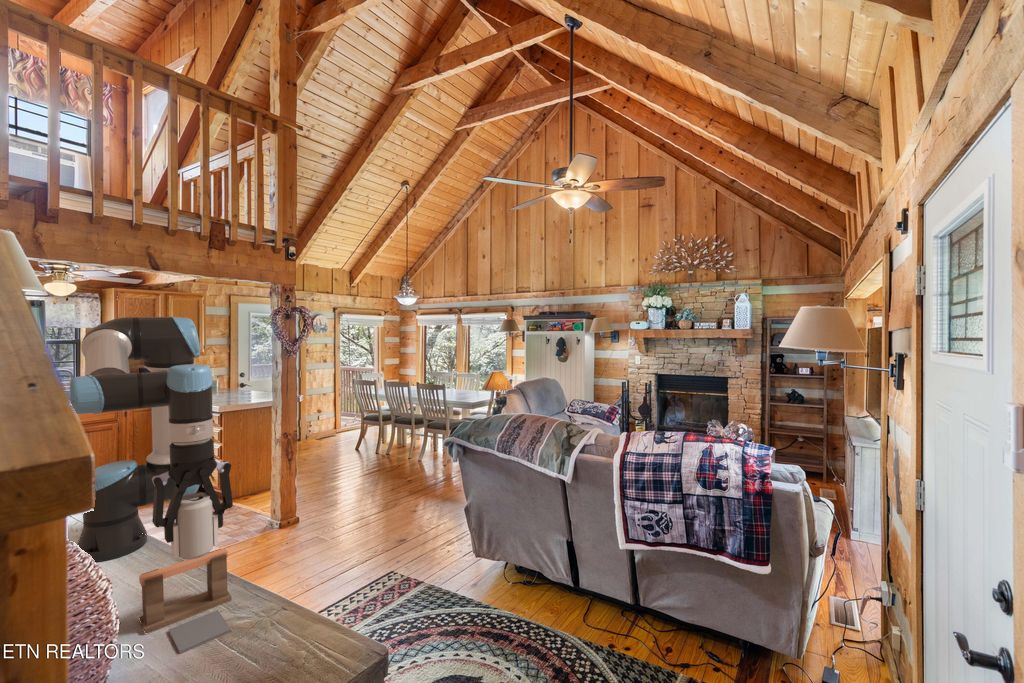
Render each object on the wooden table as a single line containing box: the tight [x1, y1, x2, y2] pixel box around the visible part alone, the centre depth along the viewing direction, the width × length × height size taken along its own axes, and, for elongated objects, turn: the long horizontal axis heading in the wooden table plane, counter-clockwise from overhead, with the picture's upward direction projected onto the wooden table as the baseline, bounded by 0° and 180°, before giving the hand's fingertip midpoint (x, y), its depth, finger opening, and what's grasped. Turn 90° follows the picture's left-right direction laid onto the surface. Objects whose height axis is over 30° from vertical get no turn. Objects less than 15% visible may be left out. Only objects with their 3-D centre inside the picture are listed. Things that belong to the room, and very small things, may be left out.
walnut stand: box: [138, 548, 233, 634], centre depth 105 cm, size 6×16×11 cm, turn 138°
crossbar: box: [138, 547, 229, 587], centre depth 104 cm, size 2×16×2 cm, turn 137°
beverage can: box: [175, 492, 215, 560], centre depth 98 cm, size 6×6×12 cm
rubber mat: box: [168, 609, 232, 654], centre depth 98 cm, size 9×9×1 cm
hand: (195, 549), depth 98 cm, fingers closed on beverage can, 6 cm apart
